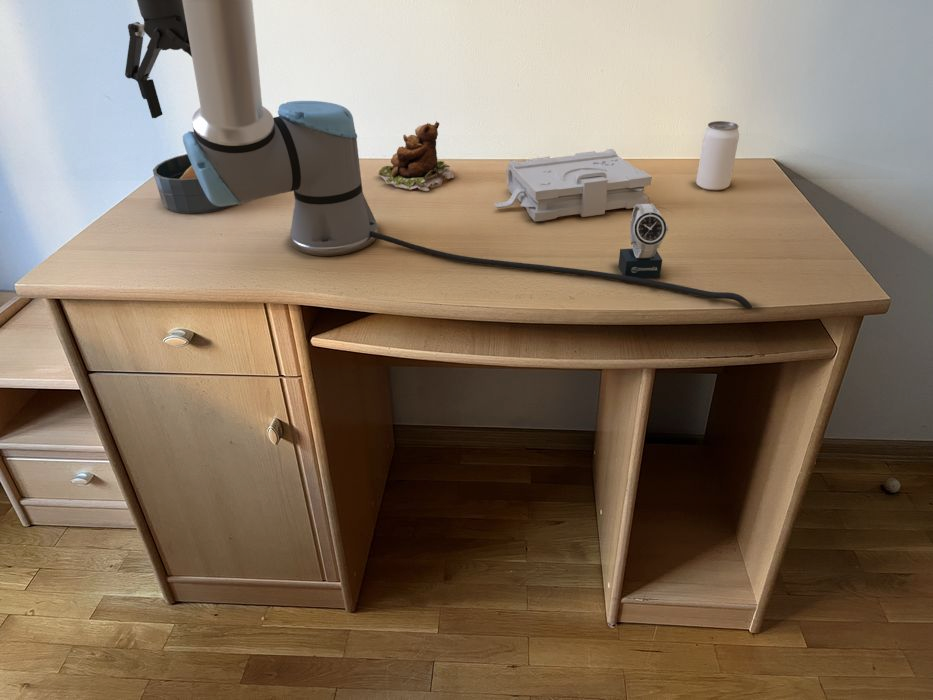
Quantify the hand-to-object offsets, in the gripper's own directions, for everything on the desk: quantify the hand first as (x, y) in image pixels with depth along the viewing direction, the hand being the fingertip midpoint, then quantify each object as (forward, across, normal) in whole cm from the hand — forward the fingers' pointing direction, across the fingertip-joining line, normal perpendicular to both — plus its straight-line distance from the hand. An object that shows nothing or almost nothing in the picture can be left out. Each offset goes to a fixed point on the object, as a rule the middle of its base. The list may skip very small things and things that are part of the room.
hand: (190, 116), depth 129 cm
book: (+17, -72, -3) cm, 74 cm away
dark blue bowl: (+16, +1, 0) cm, 17 cm away
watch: (+18, -84, +26) cm, 90 cm away
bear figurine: (+17, -40, -14) cm, 46 cm away
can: (+18, -102, -13) cm, 104 cm away
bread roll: (+16, +1, 0) cm, 16 cm away
